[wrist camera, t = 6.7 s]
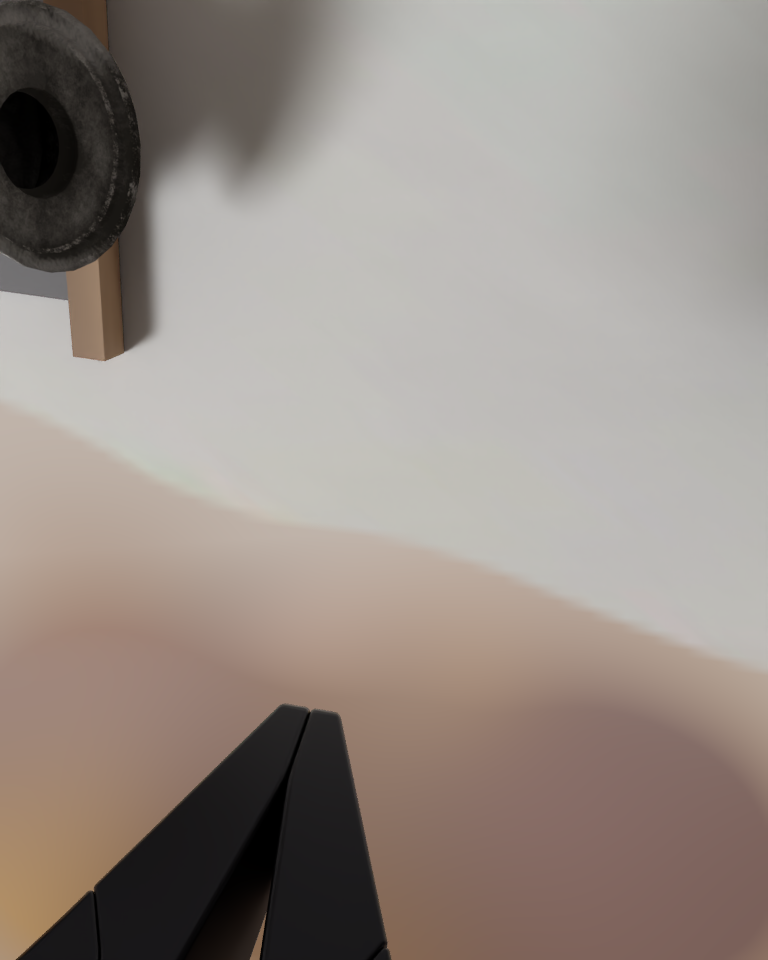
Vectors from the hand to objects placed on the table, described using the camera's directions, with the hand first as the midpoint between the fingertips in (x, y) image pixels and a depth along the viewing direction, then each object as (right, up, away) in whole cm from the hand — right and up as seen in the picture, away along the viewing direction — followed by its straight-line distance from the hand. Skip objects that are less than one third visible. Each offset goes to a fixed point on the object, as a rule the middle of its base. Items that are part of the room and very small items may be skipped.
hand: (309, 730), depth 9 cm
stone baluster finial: (-6, +11, +5) cm, 13 cm away
